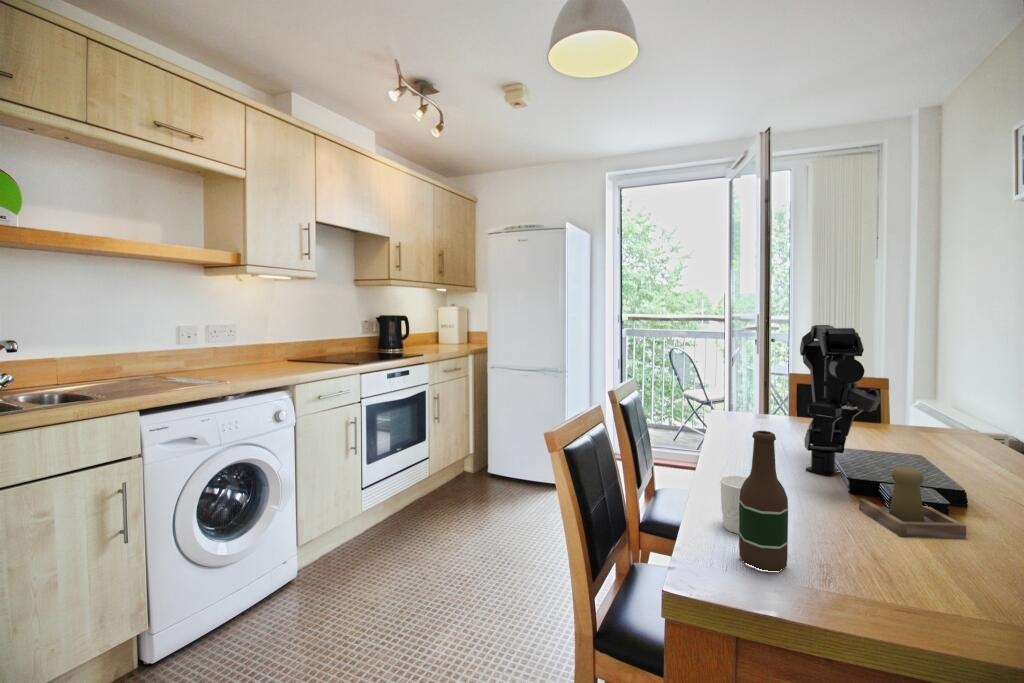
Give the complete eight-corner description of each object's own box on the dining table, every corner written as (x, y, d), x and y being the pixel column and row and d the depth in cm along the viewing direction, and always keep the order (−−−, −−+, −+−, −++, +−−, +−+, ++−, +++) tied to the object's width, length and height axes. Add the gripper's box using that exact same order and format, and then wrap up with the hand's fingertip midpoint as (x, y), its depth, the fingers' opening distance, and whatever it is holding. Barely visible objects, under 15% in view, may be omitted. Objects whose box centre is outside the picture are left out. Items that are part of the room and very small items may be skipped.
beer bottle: (786, 579, 80) (788, 440, 79) (736, 566, 84) (737, 434, 83) (787, 558, 87) (789, 430, 85) (741, 548, 91) (742, 425, 89)
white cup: (758, 522, 102) (758, 477, 101) (764, 539, 94) (765, 490, 94) (718, 518, 104) (718, 473, 104) (721, 533, 97) (722, 486, 96)
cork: (932, 523, 99) (934, 471, 98) (910, 526, 97) (911, 474, 97) (902, 511, 105) (903, 462, 104) (881, 514, 103) (882, 465, 102)
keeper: (859, 509, 107) (859, 498, 107) (916, 511, 106) (916, 499, 106) (900, 536, 94) (900, 524, 94) (965, 538, 93) (966, 525, 93)
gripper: (860, 384, 106) (858, 452, 107) (891, 377, 117) (890, 439, 118) (807, 379, 116) (806, 442, 116) (840, 373, 126) (839, 431, 127)
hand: (836, 439), depth 119 cm, fingers open, 9 cm apart
